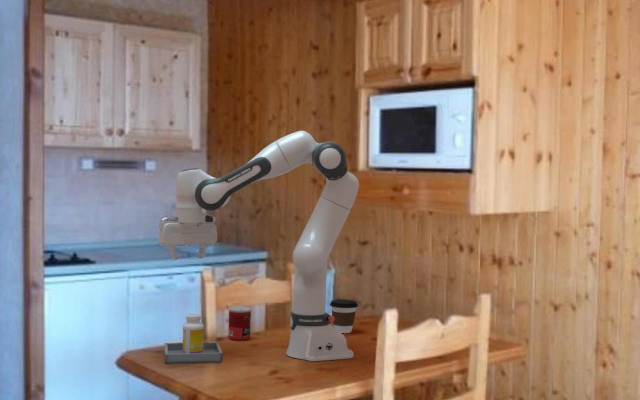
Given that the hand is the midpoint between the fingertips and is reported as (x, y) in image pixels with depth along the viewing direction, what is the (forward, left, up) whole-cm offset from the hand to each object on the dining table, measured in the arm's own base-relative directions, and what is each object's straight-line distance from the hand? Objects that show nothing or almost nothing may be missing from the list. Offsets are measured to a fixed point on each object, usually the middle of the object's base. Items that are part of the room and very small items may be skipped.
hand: (187, 258), depth 248 cm
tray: (-2, +8, -31) cm, 32 cm away
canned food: (-20, -18, -31) cm, 41 cm away
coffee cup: (-61, -26, -31) cm, 73 cm away
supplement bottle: (-2, +8, -30) cm, 32 cm away
